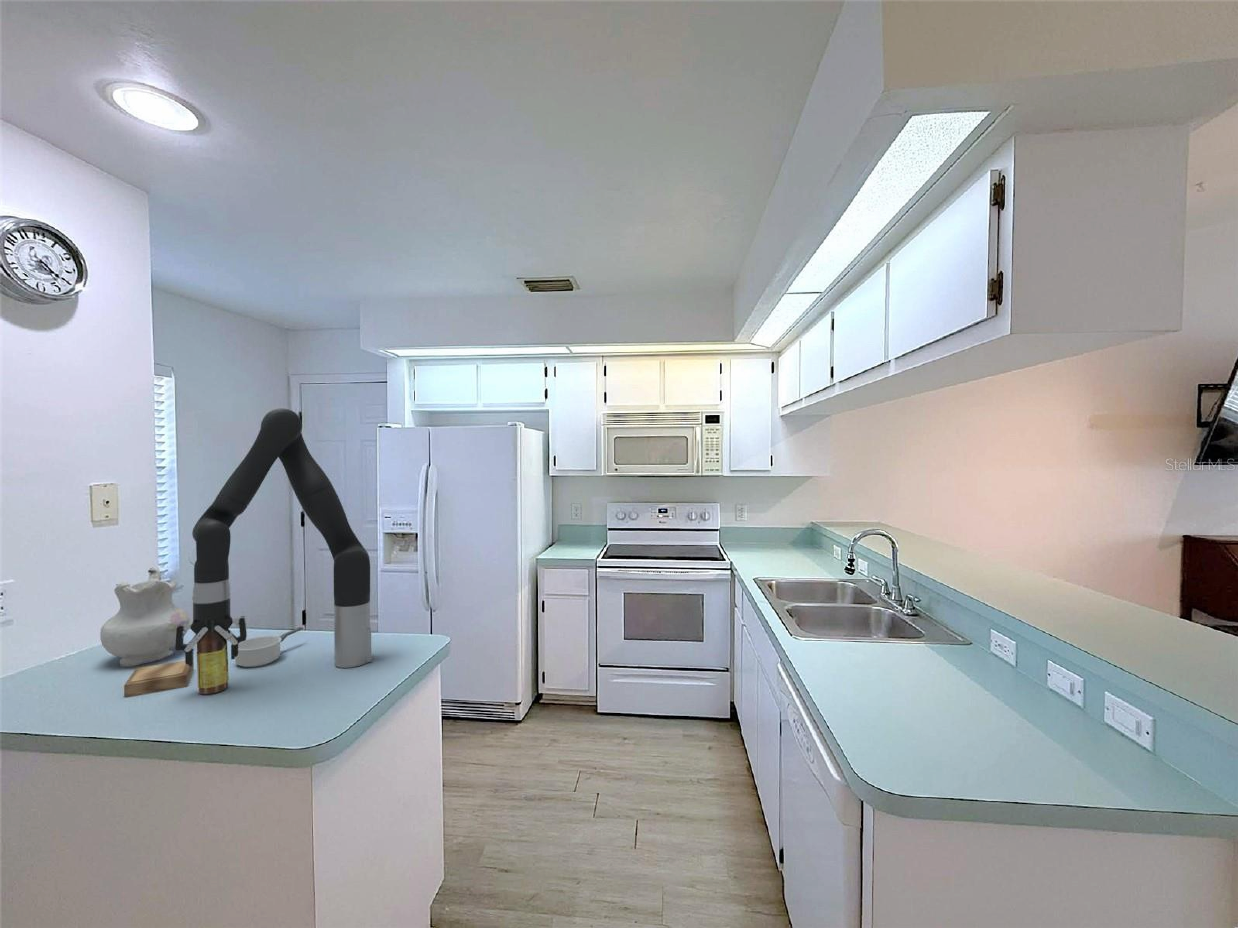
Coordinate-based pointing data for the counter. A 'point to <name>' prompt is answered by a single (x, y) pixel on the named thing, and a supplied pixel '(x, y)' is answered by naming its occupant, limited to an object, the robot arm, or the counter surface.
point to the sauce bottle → (212, 661)
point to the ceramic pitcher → (143, 621)
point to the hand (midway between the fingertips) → (212, 661)
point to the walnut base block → (158, 678)
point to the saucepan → (260, 650)
